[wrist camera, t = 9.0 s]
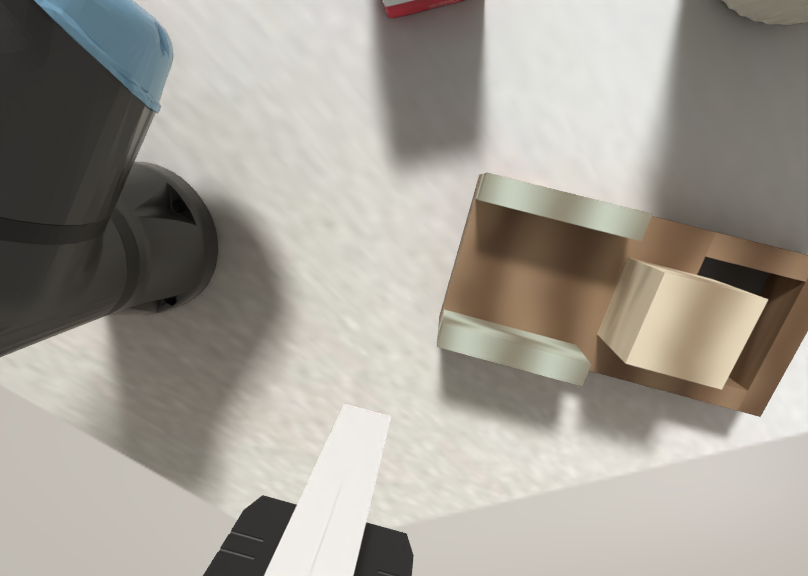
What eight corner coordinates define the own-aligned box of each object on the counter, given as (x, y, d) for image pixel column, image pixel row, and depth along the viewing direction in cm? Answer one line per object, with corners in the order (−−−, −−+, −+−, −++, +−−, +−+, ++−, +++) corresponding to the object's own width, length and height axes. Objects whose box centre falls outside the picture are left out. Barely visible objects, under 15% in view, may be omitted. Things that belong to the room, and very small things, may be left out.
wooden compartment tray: (439, 315, 41) (436, 346, 33) (479, 174, 37) (486, 172, 29) (730, 394, 39) (797, 445, 32) (802, 255, 36) (898, 275, 28)
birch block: (597, 334, 35) (625, 363, 30) (628, 257, 33) (665, 272, 28) (677, 355, 35) (721, 389, 29) (713, 279, 33) (768, 299, 27)
